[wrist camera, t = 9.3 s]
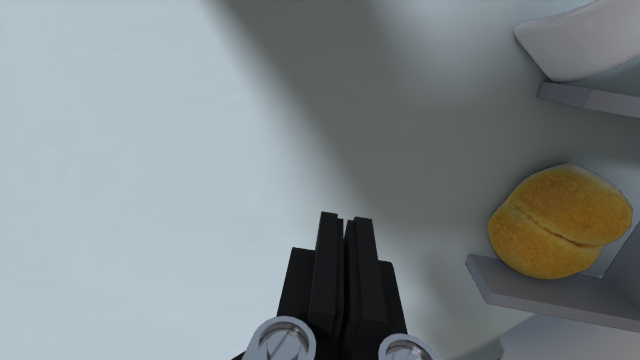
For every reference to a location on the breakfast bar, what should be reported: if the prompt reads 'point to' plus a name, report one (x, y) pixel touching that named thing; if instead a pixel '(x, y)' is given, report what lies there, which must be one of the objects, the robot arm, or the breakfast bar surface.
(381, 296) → the robot arm
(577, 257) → the bread roll
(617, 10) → the spoon rest
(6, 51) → the breakfast bar surface
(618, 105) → the box
